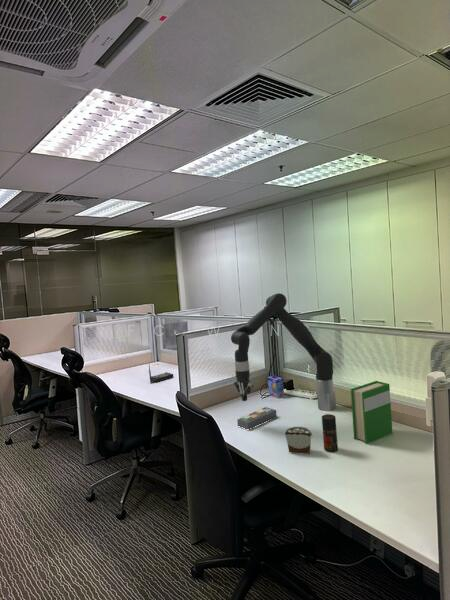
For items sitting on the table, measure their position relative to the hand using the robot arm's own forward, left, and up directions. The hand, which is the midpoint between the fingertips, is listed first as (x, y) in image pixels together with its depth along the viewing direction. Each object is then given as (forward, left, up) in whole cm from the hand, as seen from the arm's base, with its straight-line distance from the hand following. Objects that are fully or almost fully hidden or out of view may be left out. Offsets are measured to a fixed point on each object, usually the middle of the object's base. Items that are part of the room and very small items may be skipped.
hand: (244, 400), depth 206 cm
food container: (-39, +5, -14) cm, 42 cm away
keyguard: (-1, -7, -14) cm, 16 cm away
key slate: (-1, -15, -13) cm, 20 cm away
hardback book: (-57, -27, -14) cm, 65 cm away
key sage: (-1, 0, -12) cm, 12 cm away
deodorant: (-49, -4, -14) cm, 52 cm away
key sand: (-1, -10, -11) cm, 15 cm away
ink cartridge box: (+19, -45, -14) cm, 51 cm away
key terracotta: (-1, -5, -13) cm, 14 cm away
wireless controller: (+124, -22, -15) cm, 127 cm away
